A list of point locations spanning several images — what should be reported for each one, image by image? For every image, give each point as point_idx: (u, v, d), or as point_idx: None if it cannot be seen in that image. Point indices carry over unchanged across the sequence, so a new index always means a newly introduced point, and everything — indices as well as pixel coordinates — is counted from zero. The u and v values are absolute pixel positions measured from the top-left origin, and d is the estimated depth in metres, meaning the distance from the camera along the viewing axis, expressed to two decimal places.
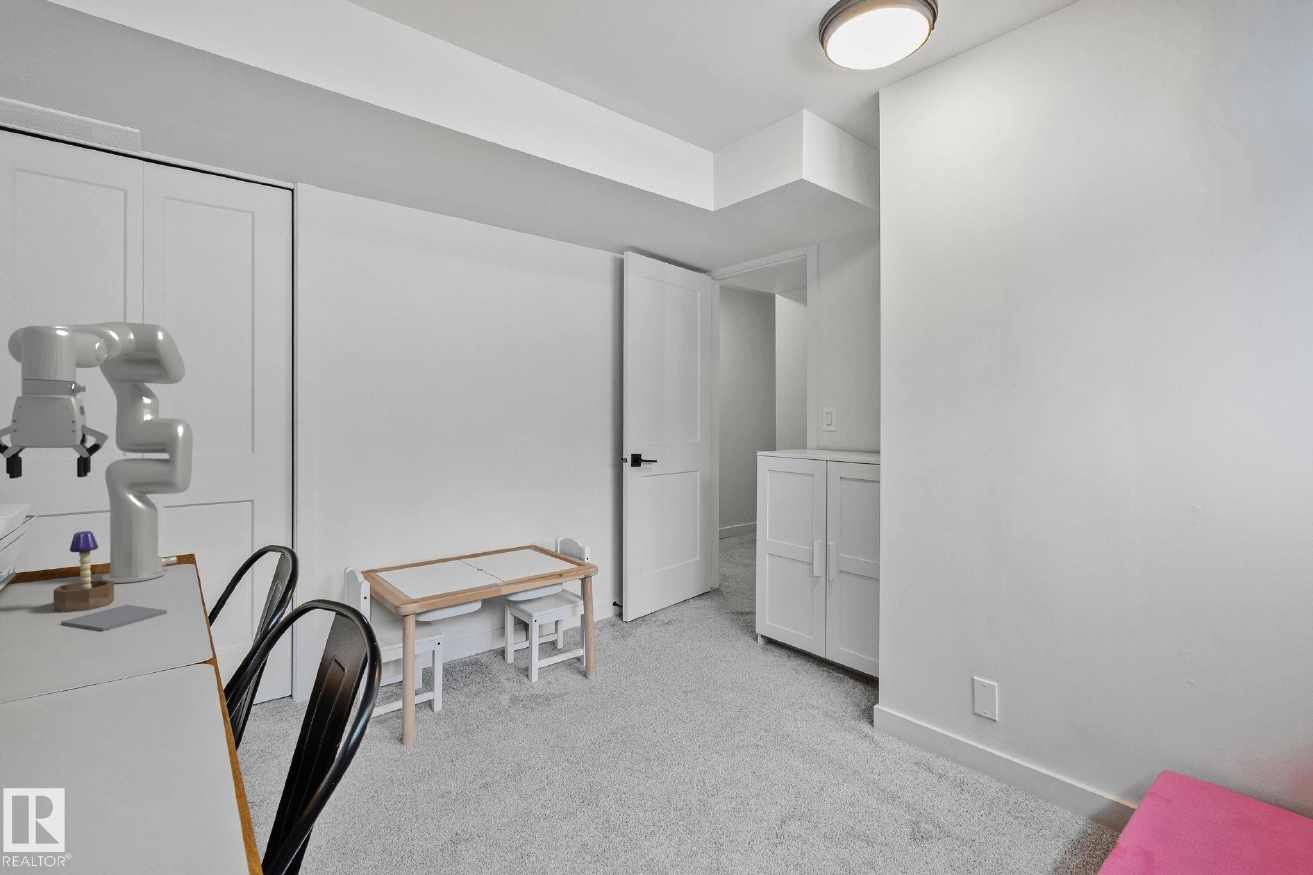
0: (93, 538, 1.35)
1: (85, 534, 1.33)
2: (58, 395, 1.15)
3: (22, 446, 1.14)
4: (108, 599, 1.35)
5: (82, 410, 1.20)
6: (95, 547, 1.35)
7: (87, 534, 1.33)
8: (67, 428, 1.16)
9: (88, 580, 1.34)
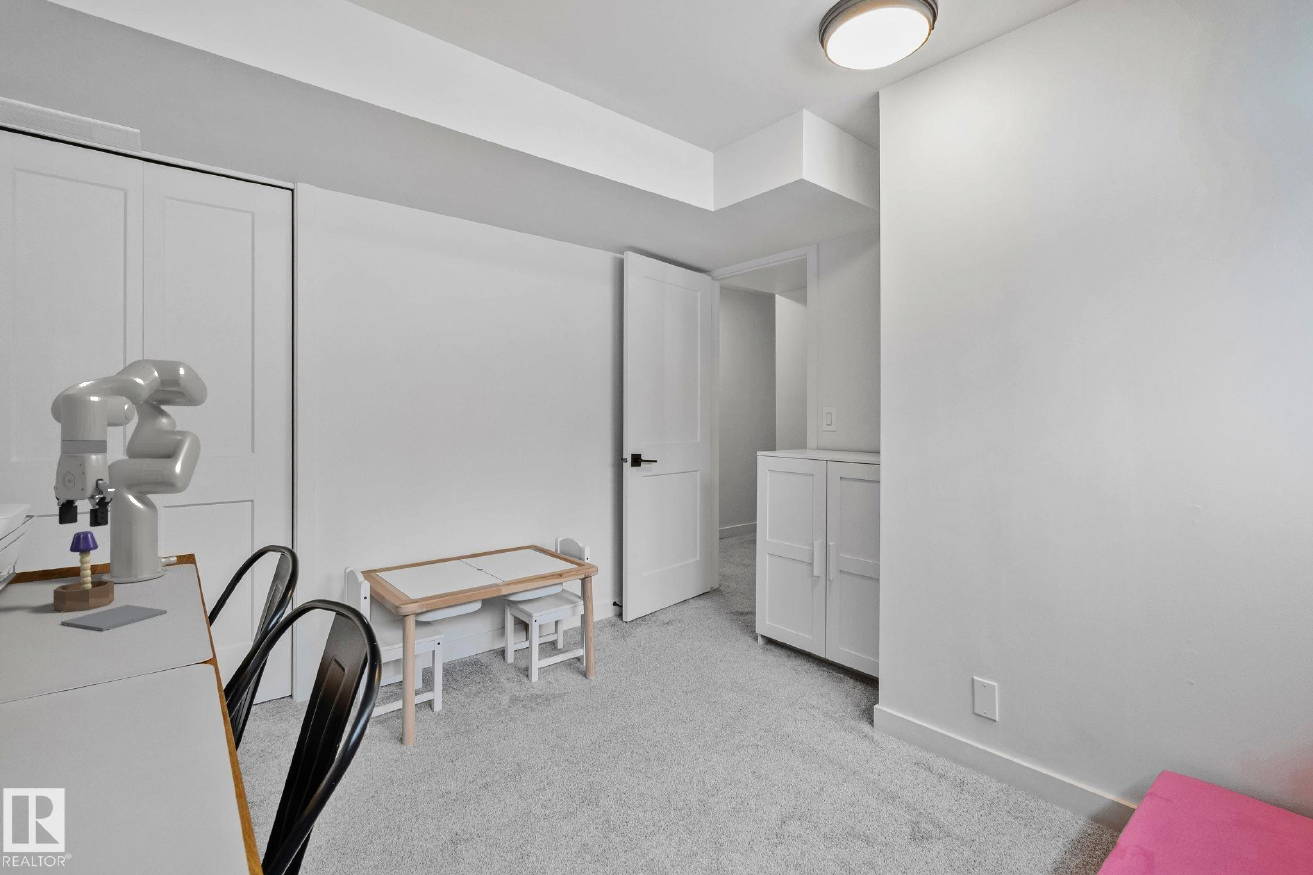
0: (93, 538, 1.35)
1: (85, 534, 1.33)
2: None
3: None
4: (108, 599, 1.35)
5: None
6: (95, 547, 1.35)
7: (87, 534, 1.33)
8: None
9: (88, 580, 1.34)
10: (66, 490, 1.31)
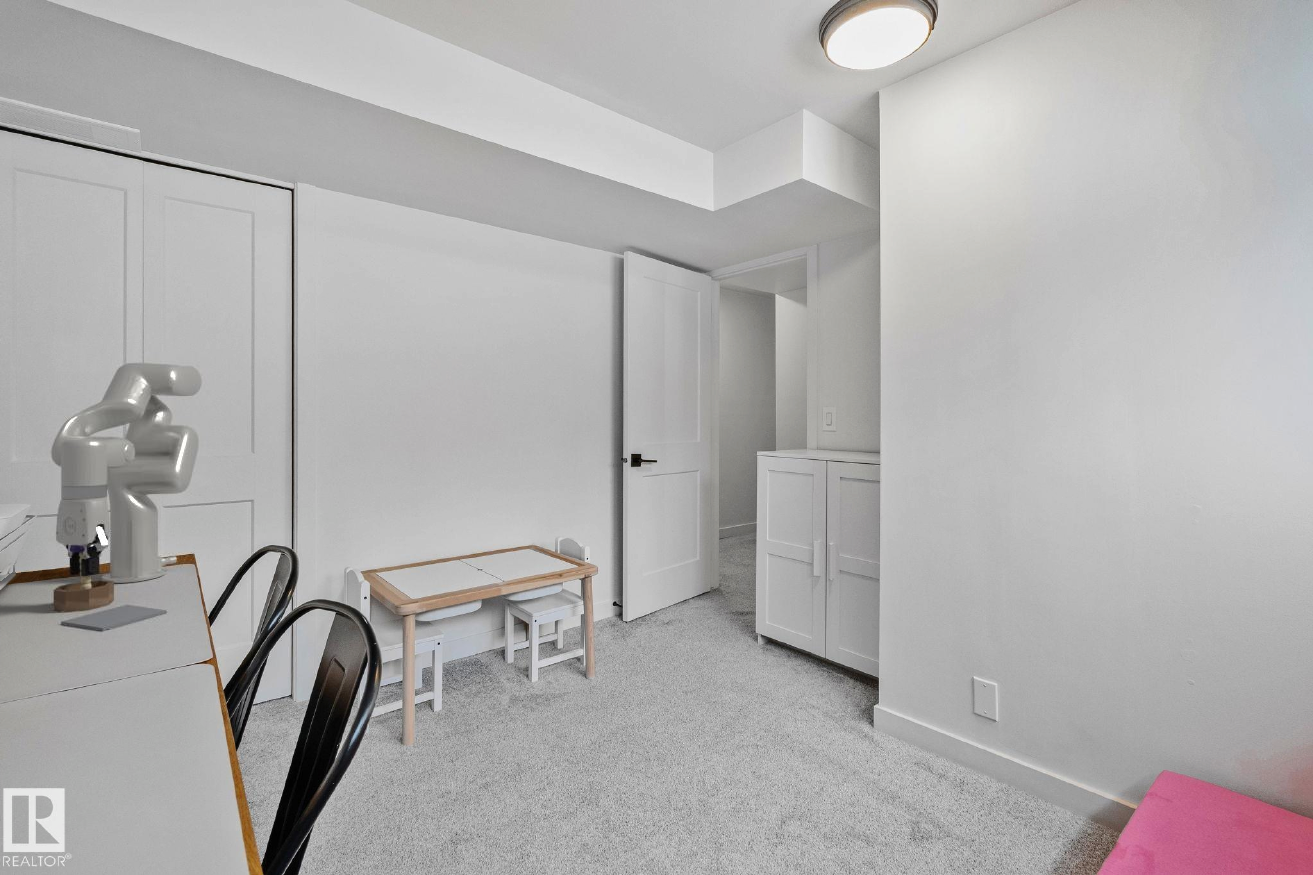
0: None
1: None
2: None
3: None
4: (108, 599, 1.35)
5: None
6: None
7: None
8: None
9: (88, 580, 1.34)
10: (67, 535, 1.32)
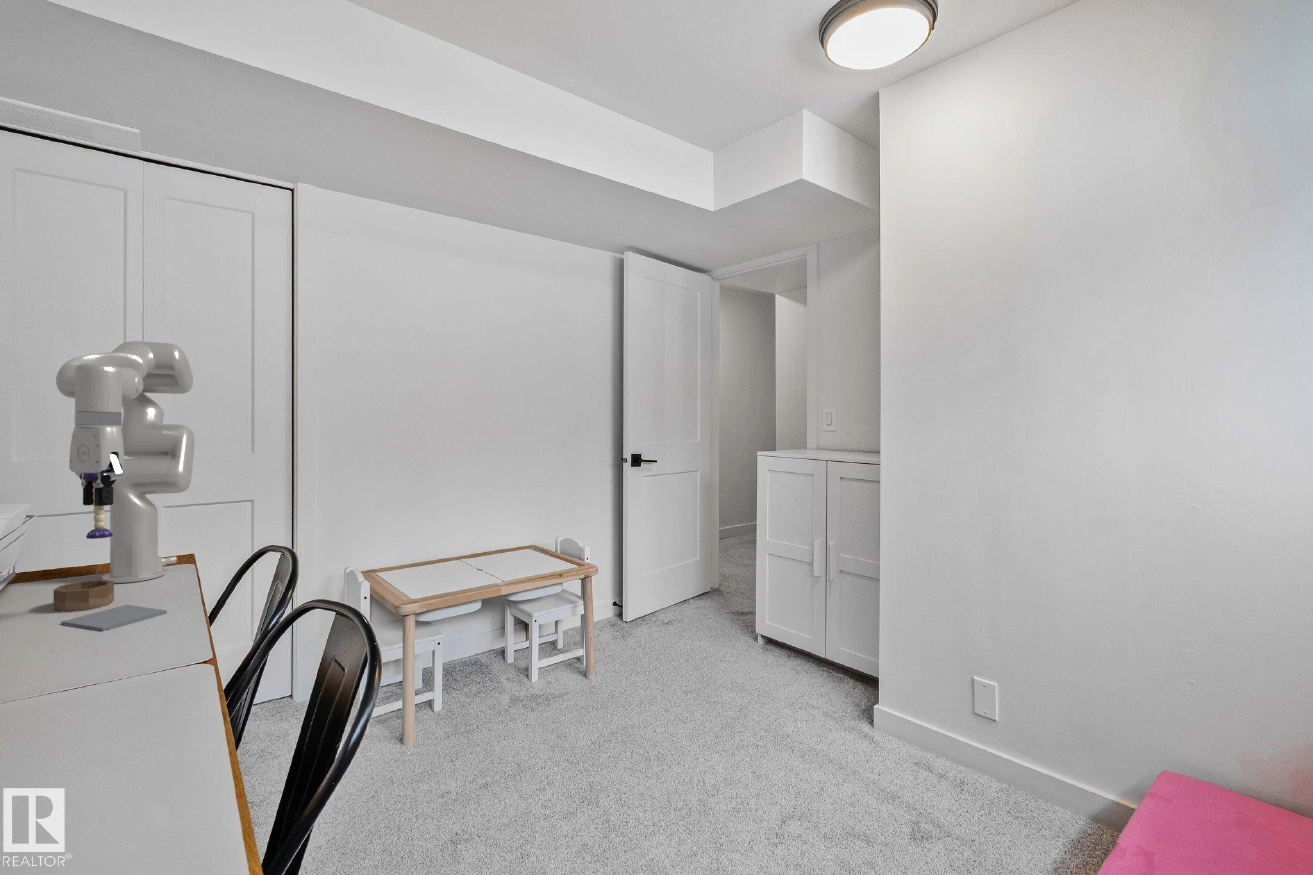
0: None
1: None
2: None
3: None
4: (108, 599, 1.35)
5: None
6: None
7: None
8: None
9: (101, 511, 1.29)
10: (80, 463, 1.27)
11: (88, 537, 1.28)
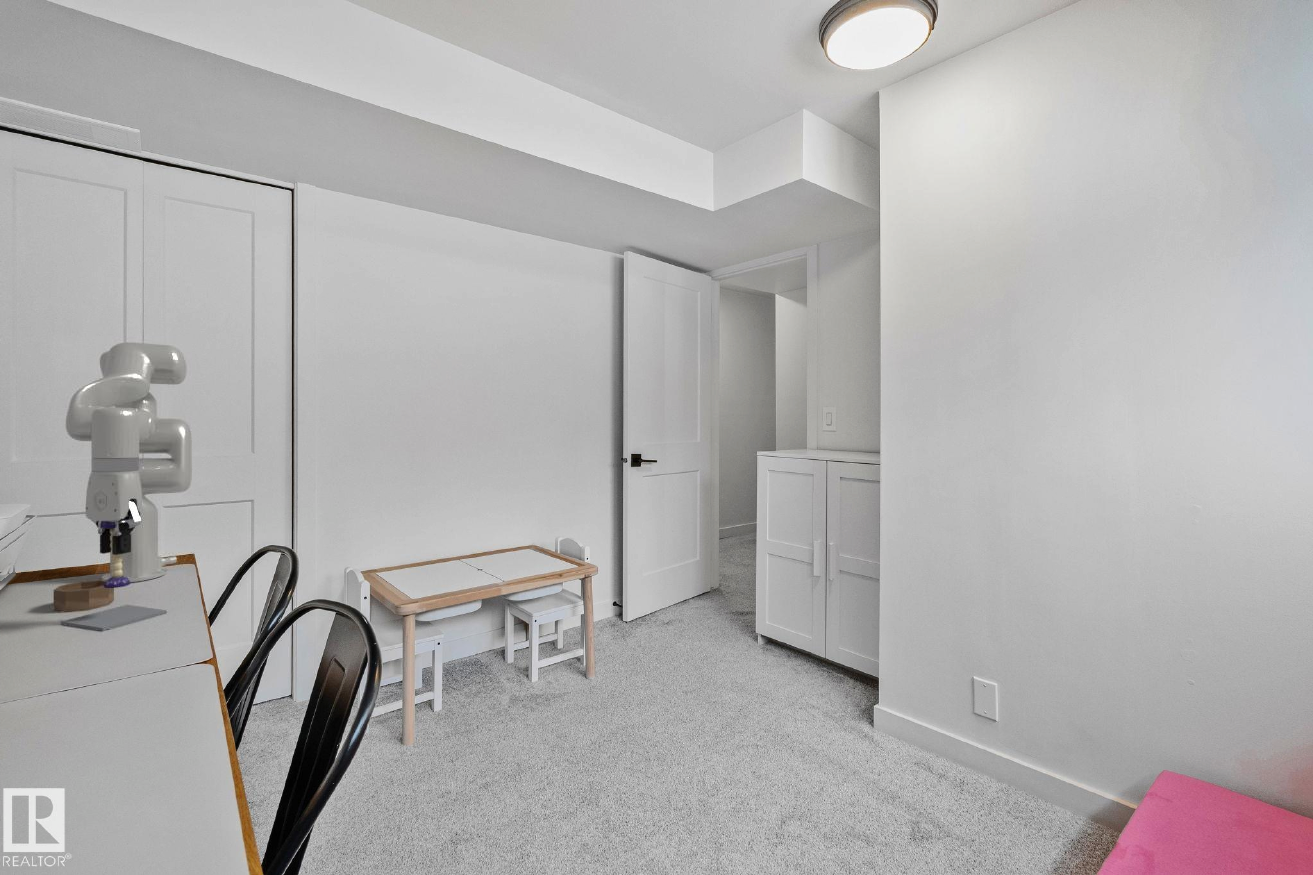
0: None
1: None
2: None
3: None
4: (108, 599, 1.35)
5: None
6: None
7: None
8: None
9: (118, 559, 1.26)
10: (98, 511, 1.23)
11: (106, 586, 1.24)
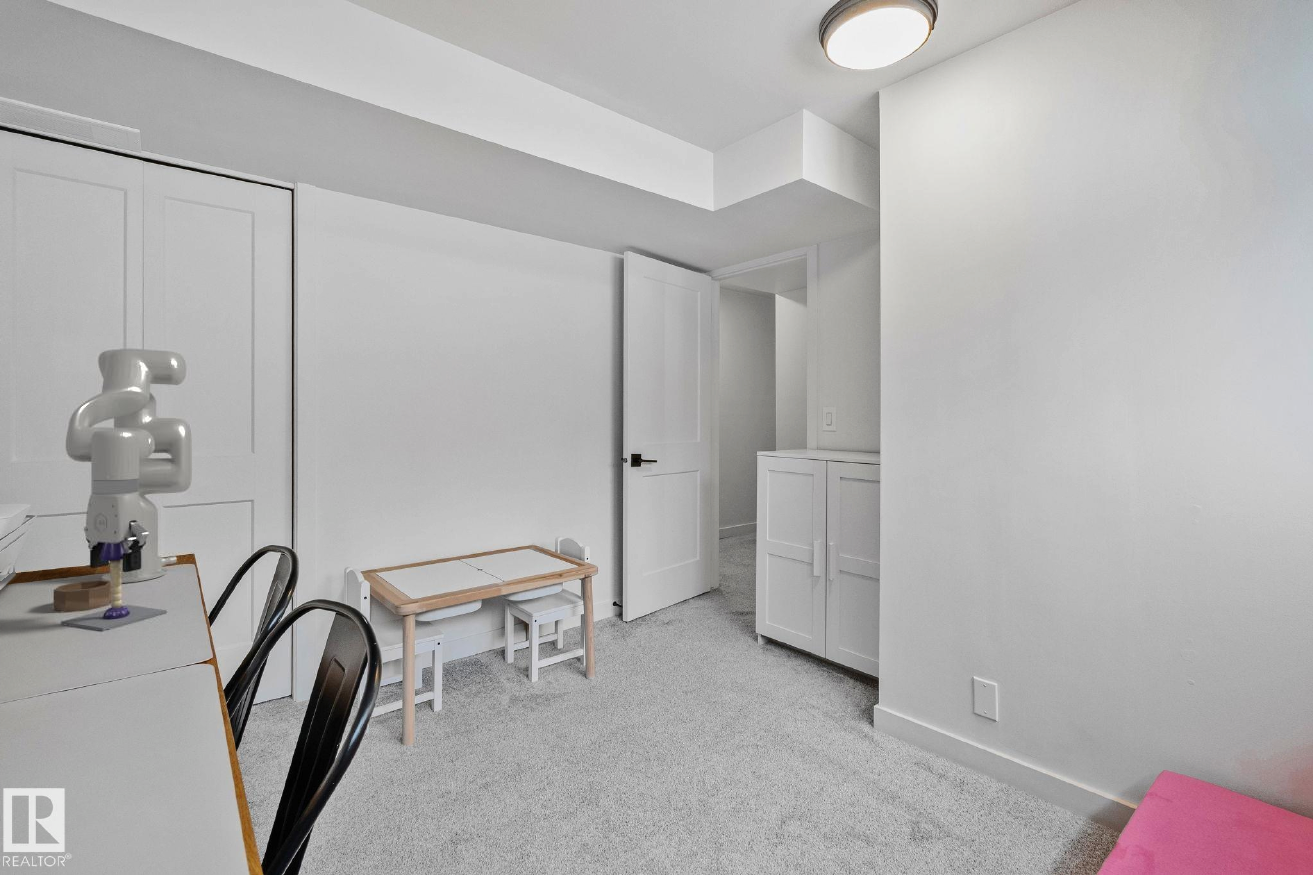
0: None
1: None
2: None
3: None
4: (108, 599, 1.35)
5: None
6: None
7: None
8: None
9: (118, 590, 1.25)
10: (98, 533, 1.23)
11: (105, 617, 1.24)
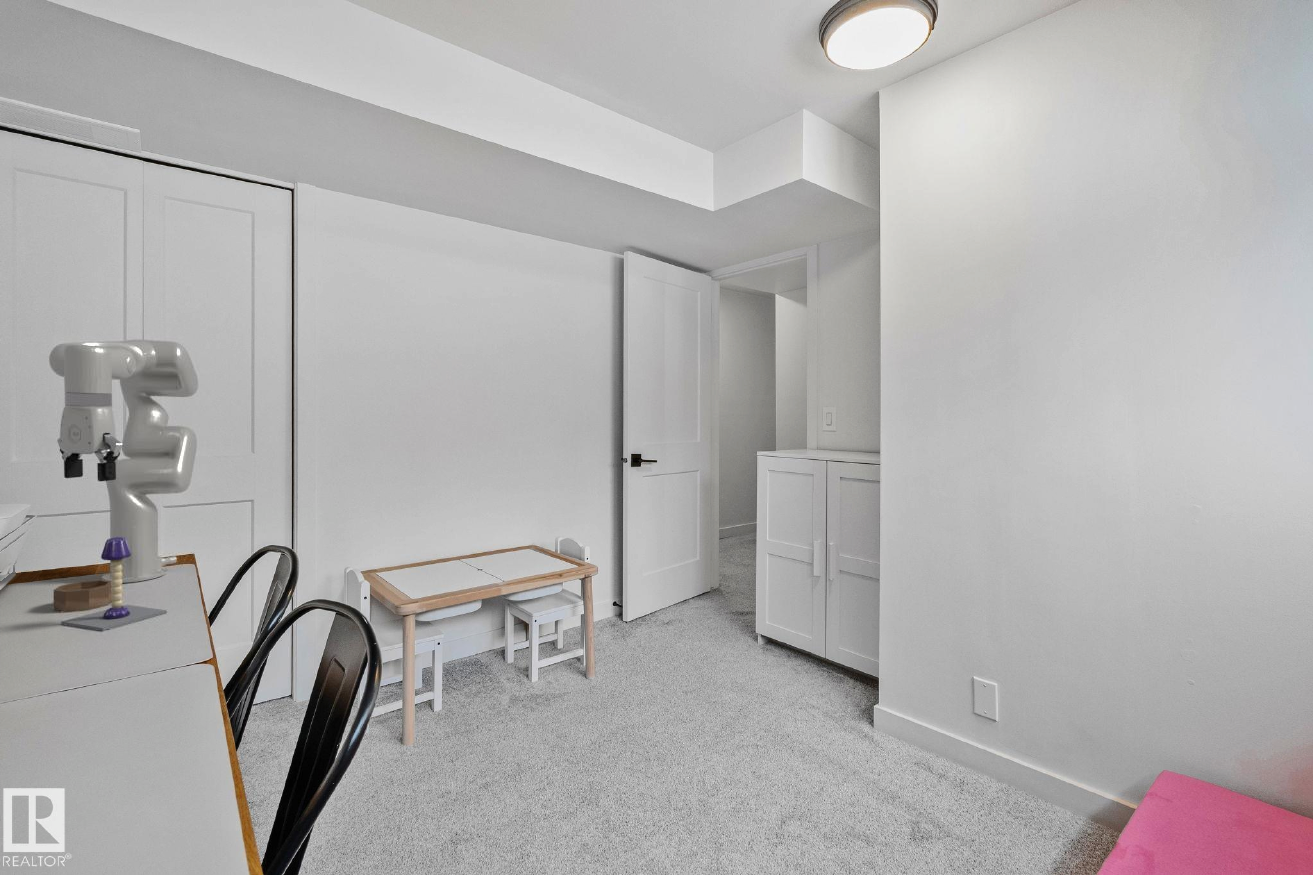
0: (126, 545, 1.25)
1: (117, 541, 1.24)
2: None
3: None
4: (108, 599, 1.35)
5: None
6: (127, 555, 1.25)
7: (120, 541, 1.24)
8: None
9: (118, 589, 1.25)
10: (72, 443, 1.28)
11: (105, 617, 1.24)
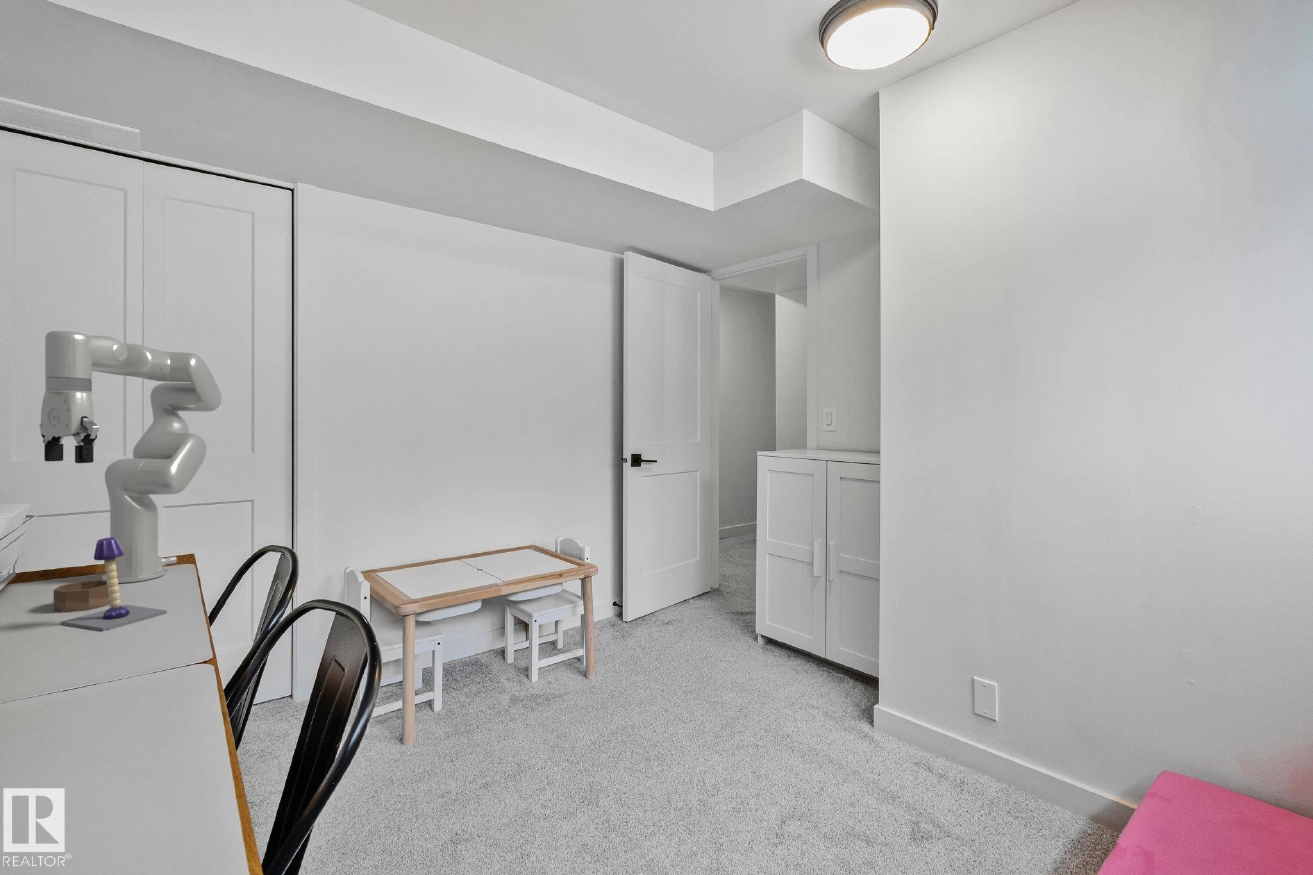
0: (117, 544, 1.25)
1: (108, 540, 1.24)
2: None
3: None
4: (108, 599, 1.35)
5: None
6: (120, 554, 1.25)
7: (110, 540, 1.24)
8: None
9: (115, 589, 1.25)
10: (51, 427, 1.32)
11: (105, 617, 1.24)
